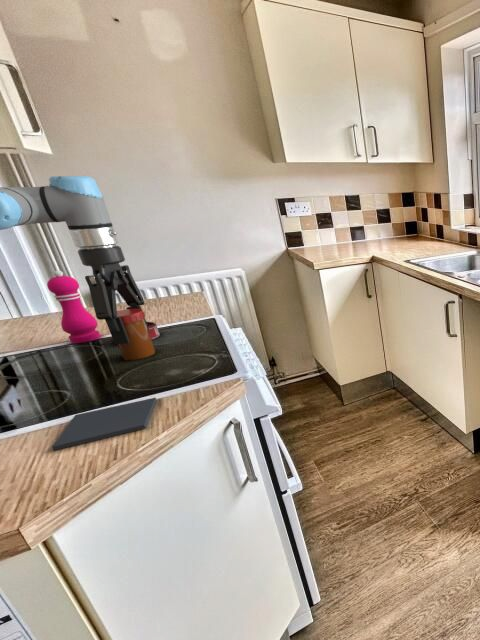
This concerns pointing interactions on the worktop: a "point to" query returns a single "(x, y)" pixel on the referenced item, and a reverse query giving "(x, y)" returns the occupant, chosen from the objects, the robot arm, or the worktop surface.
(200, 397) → the worktop surface
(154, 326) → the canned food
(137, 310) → the lid
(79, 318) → the pepper mill
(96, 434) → the mat
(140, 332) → the jar
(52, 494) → the worktop surface
